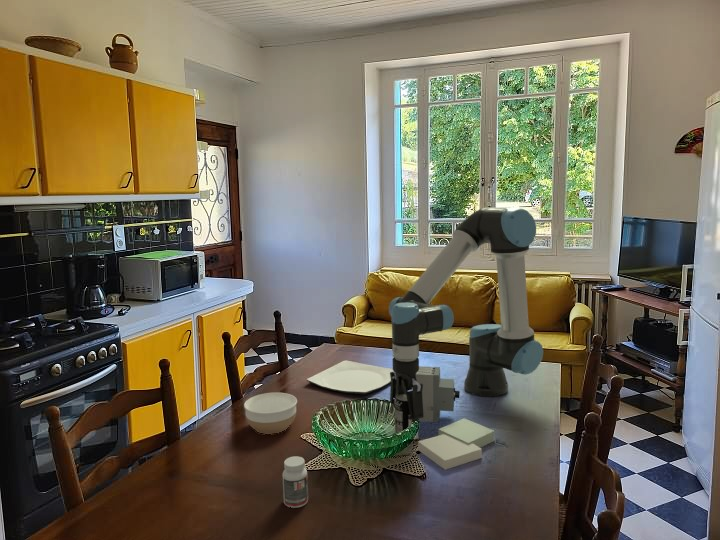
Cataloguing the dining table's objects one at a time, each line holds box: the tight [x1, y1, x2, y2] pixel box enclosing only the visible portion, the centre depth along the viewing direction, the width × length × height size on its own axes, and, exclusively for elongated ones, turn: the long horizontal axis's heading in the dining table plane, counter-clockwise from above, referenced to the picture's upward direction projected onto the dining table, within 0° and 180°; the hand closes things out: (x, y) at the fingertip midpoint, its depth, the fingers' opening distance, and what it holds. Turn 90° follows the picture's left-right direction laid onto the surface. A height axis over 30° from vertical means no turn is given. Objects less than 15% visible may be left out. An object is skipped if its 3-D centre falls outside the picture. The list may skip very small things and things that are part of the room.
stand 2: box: [417, 434, 483, 471], centre depth 142 cm, size 12×12×2 cm
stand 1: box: [438, 418, 495, 449], centre depth 149 cm, size 11×11×3 cm
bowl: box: [243, 392, 298, 435], centre depth 161 cm, size 16×16×8 cm
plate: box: [306, 359, 394, 395], centre depth 199 cm, size 29×29×3 cm
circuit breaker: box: [416, 365, 461, 423], centre depth 164 cm, size 8×14×15 cm, turn 78°
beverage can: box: [394, 394, 410, 434], centre depth 152 cm, size 7×7×12 cm
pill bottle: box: [282, 455, 309, 509], centre depth 121 cm, size 6×6×10 cm
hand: (406, 433), depth 153 cm, fingers closed on beverage can, 7 cm apart
